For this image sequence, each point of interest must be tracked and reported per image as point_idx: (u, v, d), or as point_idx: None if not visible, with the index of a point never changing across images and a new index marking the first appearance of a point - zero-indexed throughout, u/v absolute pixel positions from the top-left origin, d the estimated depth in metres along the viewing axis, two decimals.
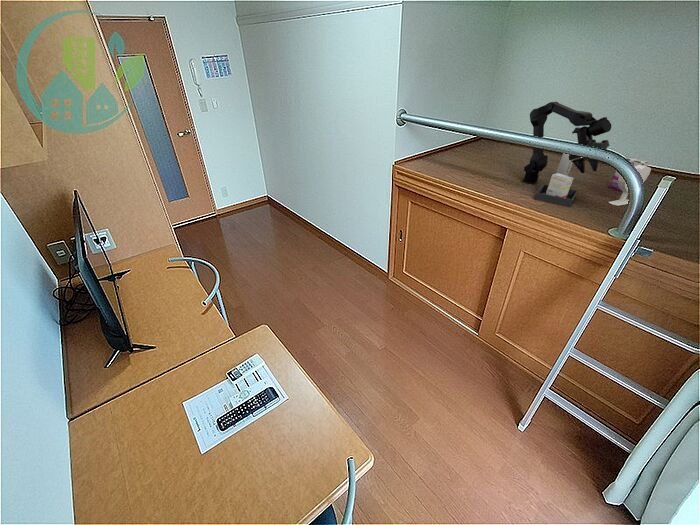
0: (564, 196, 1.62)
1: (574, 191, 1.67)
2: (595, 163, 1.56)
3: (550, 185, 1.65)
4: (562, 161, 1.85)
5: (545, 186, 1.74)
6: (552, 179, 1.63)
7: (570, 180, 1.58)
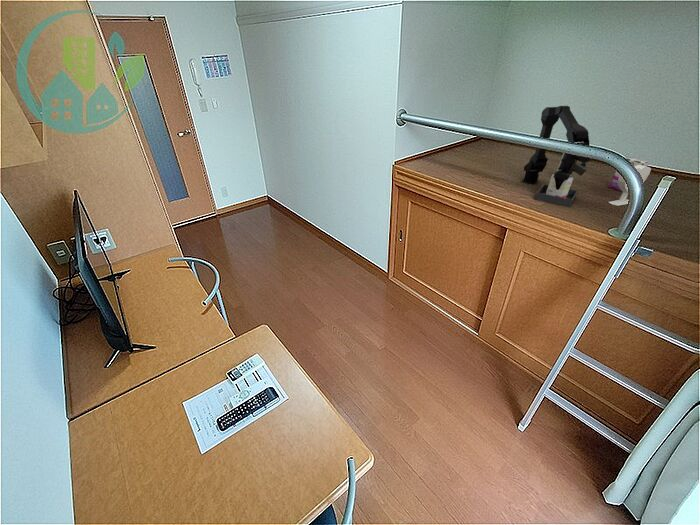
0: (564, 196, 1.62)
1: (574, 191, 1.67)
2: None
3: (550, 185, 1.65)
4: None
5: (545, 186, 1.74)
6: (552, 179, 1.63)
7: (570, 180, 1.58)
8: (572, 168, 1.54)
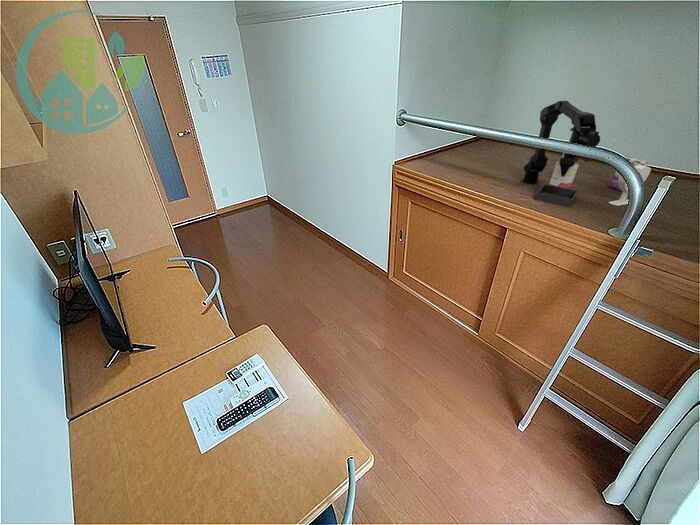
0: (569, 183, 1.59)
1: (574, 191, 1.67)
2: None
3: (555, 172, 1.62)
4: None
5: (545, 186, 1.74)
6: (557, 166, 1.60)
7: (576, 166, 1.55)
8: None
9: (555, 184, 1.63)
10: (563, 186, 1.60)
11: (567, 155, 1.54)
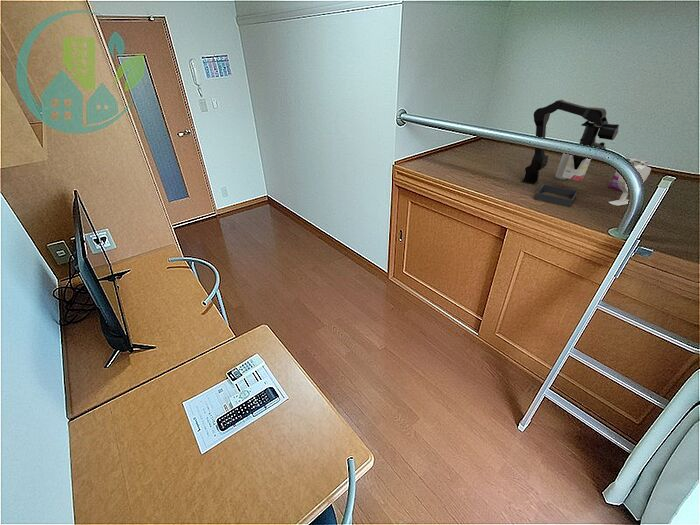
0: (582, 176, 1.66)
1: (574, 191, 1.67)
2: None
3: (568, 165, 1.68)
4: (562, 161, 1.85)
5: (545, 186, 1.74)
6: (570, 160, 1.66)
7: (588, 159, 1.61)
8: None
9: (568, 177, 1.70)
10: (576, 178, 1.67)
11: None
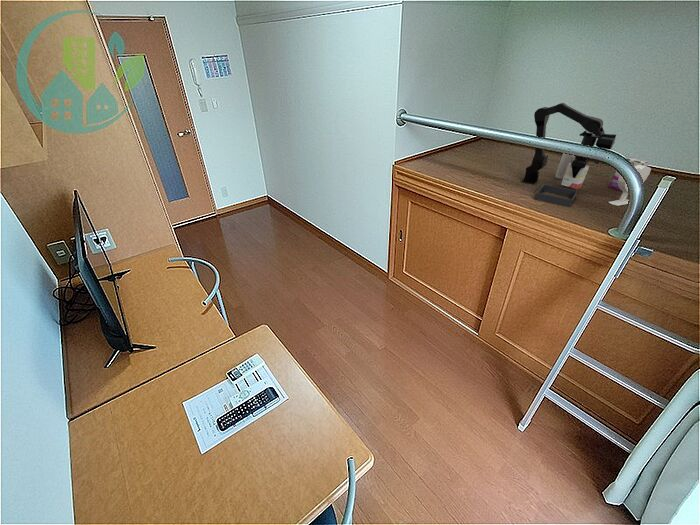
0: (580, 184, 1.70)
1: (574, 191, 1.67)
2: None
3: (566, 174, 1.72)
4: (562, 161, 1.85)
5: (545, 186, 1.74)
6: (568, 168, 1.70)
7: (586, 168, 1.65)
8: None
9: (566, 185, 1.73)
10: (574, 187, 1.70)
11: (578, 158, 1.65)
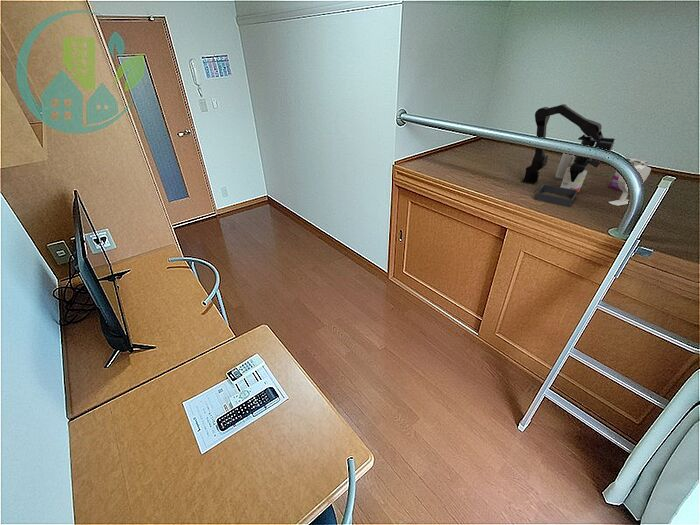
0: (579, 188, 1.71)
1: (574, 191, 1.67)
2: None
3: (565, 178, 1.73)
4: (562, 161, 1.85)
5: (545, 186, 1.74)
6: (567, 173, 1.72)
7: (585, 173, 1.67)
8: (587, 160, 1.62)
9: None
10: None
11: (577, 161, 1.65)
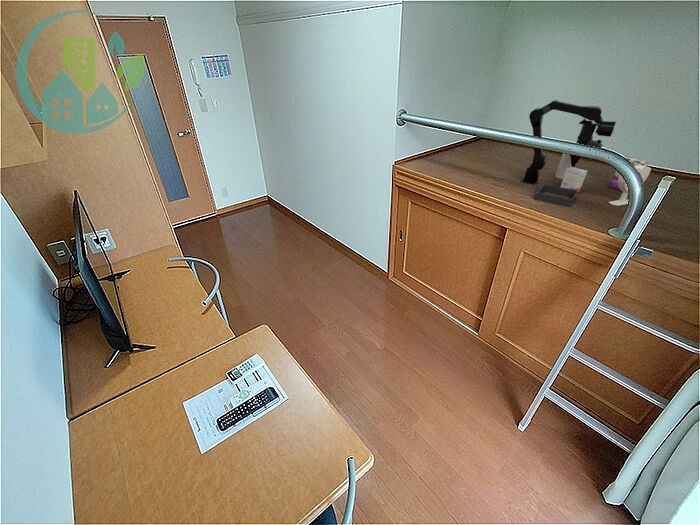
0: (579, 188, 1.71)
1: (574, 191, 1.67)
2: None
3: (565, 178, 1.73)
4: (562, 161, 1.85)
5: (545, 186, 1.74)
6: (567, 173, 1.72)
7: (585, 173, 1.67)
8: None
9: None
10: None
11: None
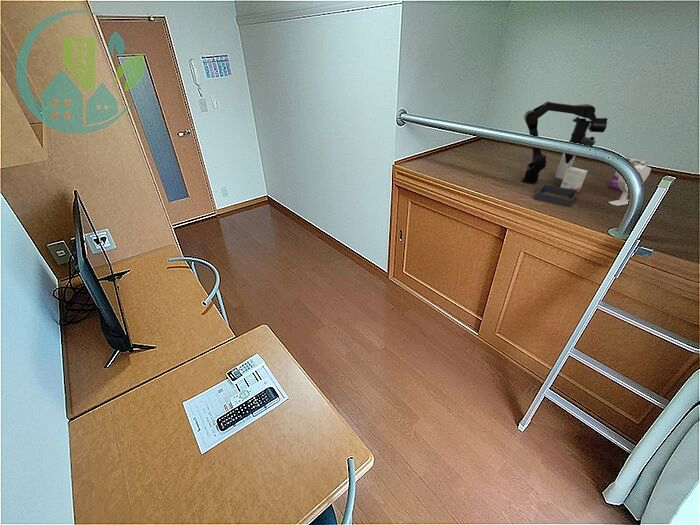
0: (579, 188, 1.71)
1: (574, 191, 1.67)
2: None
3: (565, 178, 1.73)
4: (562, 161, 1.85)
5: (545, 186, 1.74)
6: (567, 173, 1.72)
7: (585, 173, 1.67)
8: (581, 142, 1.67)
9: None
10: None
11: None
